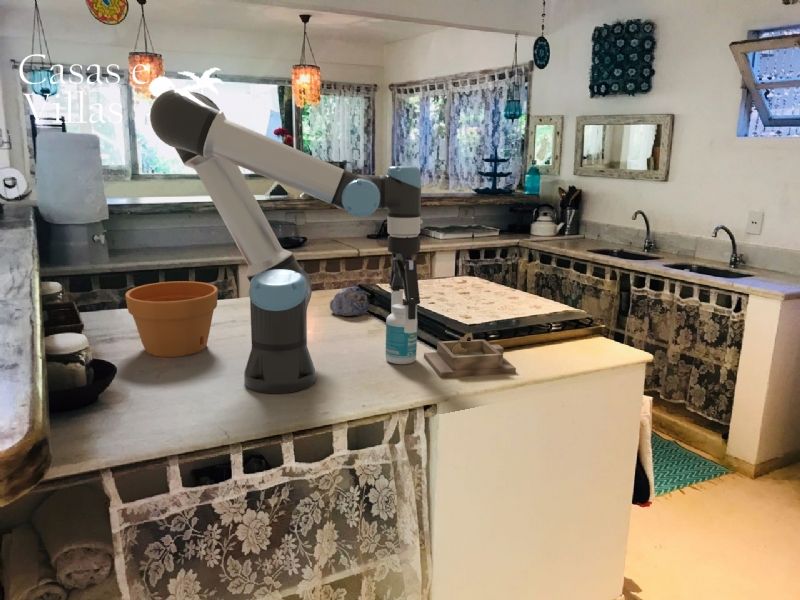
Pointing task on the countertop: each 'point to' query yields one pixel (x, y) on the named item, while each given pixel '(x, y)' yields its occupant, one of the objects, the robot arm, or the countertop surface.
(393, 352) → the pill bottle
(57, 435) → the countertop surface
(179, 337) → the flower pot
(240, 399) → the countertop surface
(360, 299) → the rock
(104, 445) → the countertop surface
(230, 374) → the countertop surface
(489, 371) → the wooden tray
